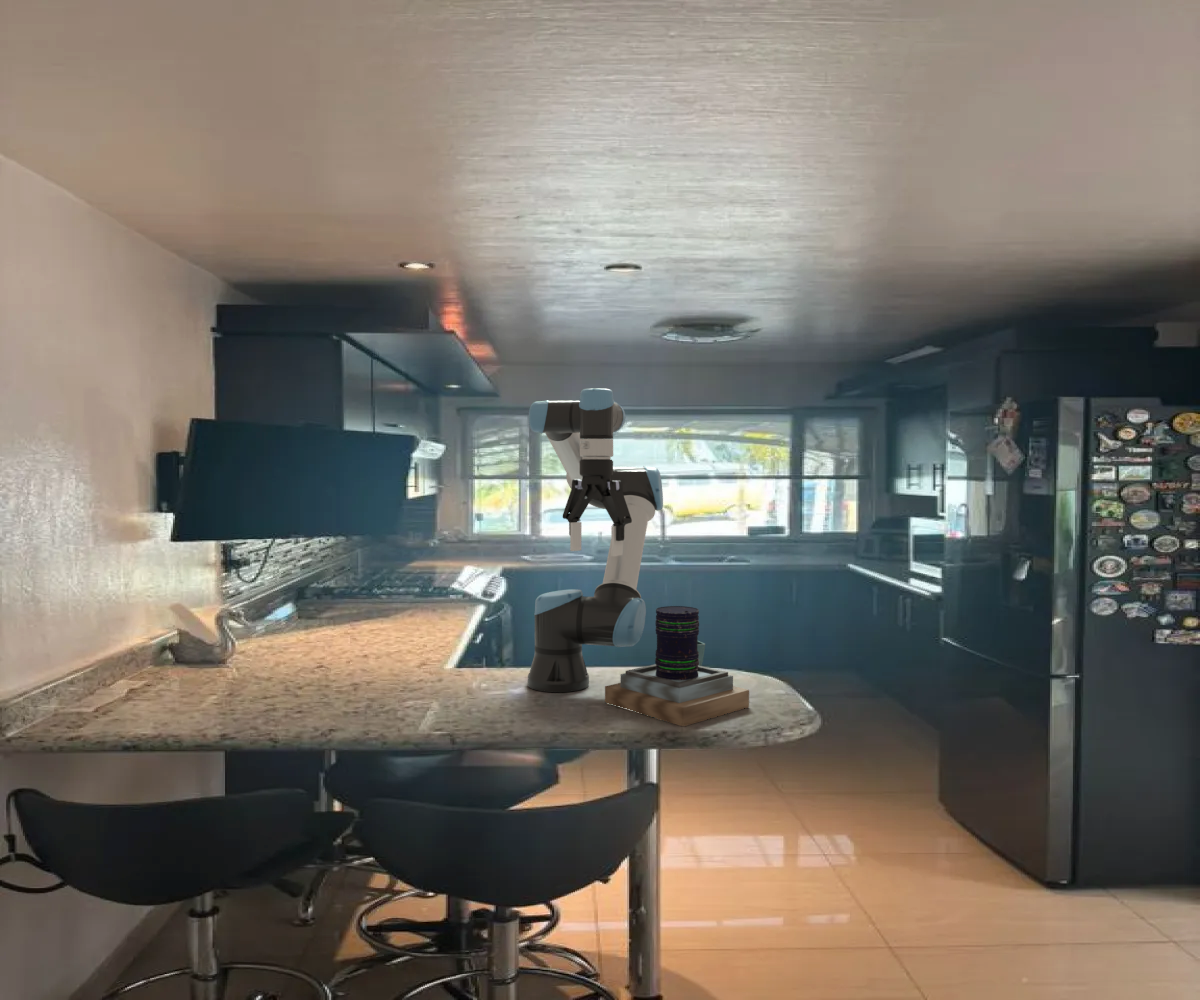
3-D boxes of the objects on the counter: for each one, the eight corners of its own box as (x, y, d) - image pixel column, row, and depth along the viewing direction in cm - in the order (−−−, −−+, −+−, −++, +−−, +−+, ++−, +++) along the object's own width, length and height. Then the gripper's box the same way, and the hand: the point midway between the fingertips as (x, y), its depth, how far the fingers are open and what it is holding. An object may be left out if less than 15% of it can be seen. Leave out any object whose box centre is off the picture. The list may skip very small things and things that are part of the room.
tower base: (604, 703, 212) (605, 669, 212) (670, 687, 227) (670, 655, 227) (683, 726, 195) (683, 689, 194) (748, 707, 210) (749, 673, 209)
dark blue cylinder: (646, 674, 211) (646, 609, 210) (676, 668, 217) (677, 604, 217) (677, 682, 203) (677, 614, 203) (708, 675, 210) (708, 610, 209)
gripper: (547, 457, 214) (547, 549, 215) (623, 458, 196) (622, 559, 197) (572, 457, 219) (571, 547, 220) (648, 458, 201) (647, 556, 202)
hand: (595, 553), depth 208 cm, fingers open, 13 cm apart
